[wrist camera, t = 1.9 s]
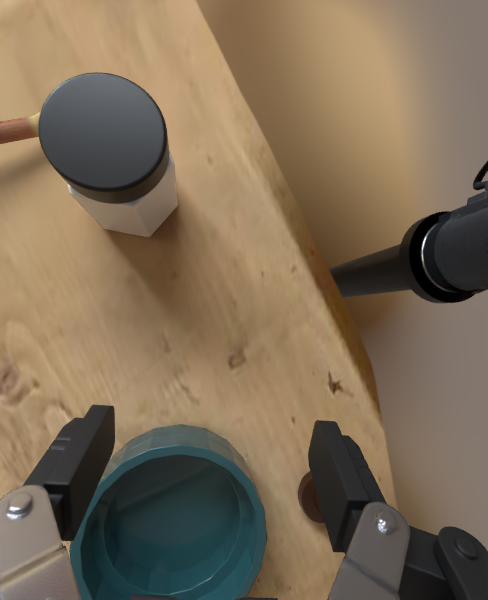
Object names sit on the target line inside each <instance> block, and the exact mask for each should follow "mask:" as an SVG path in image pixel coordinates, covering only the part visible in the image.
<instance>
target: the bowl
mask: <svg viewBox="0 0 488 600" xmlns="http://www.w3.org/2000/svg"><path fill="white" fill-rule="evenodd" d="M266 541H267V532H266V522H265V511H264V507H263V505H262V502H261V499H260V497H259V494H258V492H257V489H256V487H255V484H254V482H253V479H252V477H251V475H250V472H249V470H248V468H247V465H246V463H245V461H244V459H243V457H242V456H241V455H240V454H239V453H238V452H237V450H236V449H235V448H234V447H233V446H232V445H231V444H230V443H229V442H228V441H227V440H226V439H224V438H222V437H220V436H219V435H217V434H215V433H213V432H211V431H209V430H207V429H205V428H199V427H193V426H187V425H174V426H168V427H161V428H156V429H153V430H151V431H149V432H147V433H145V434H143V435H141V436H138V437H136V438H134V439H132V440H131V441H129V442H128V443H127V444H126V445H125V446H124V447H123V448H122V449H121V450H120V451H118V452H117V453H116V454H115V455H114V456H113V457H112V458H111V459H110V460H109V462H108V464H107V466H106V468H105V471H104V473H103V475H102V477H101V480H100V482H99V484H98V487H97V489H96V491H95V493H94V496H93V498H92V500H91V503H90V505H89V507H88V509H87V512H86V514H85V516H84V518H83V521H82V523H81V525H80V528H79V530H78V532H77V534H76V537H75V539H74V541H71V545H70V562H71V565H72V568H73V572H74V575H75V579H76V582H77V585H78V589H79V592H80V596H81V599H82V600H130V598H131V595H166V596H171V597H174V598H176V599H179V600H236V599H239V598H242V597H244V598H246V596H247V595H248V593H249V591H250V589H251V587H252V585H253V583H254V581H255V579H256V577H257V575H258V573H259V571H260V569H261V566H262V561H263V556H264V551H265V546H266Z"/></svg>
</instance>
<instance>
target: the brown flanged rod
mask: <svg viewBox="0 0 488 600" xmlns="http://www.w3.org/2000/svg"><path fill="white" fill-rule="evenodd" d="M298 499H299V502H300V505H301V507H302V508H303V510H304V512H305V513H306V515H307V516H308V517H309V518H310V519H311V520H313V521H315V522H317V523H325V521H324V517H323V514H322V510H321V506H320V503H319V499H318V496H317V492H316V489H315V485H314V481H313V478H312V474H311V471H309V472H308V473H307V474H306V475H305V476H304V477H303V479H302V481H301V483H300V485H299V490H298Z"/></svg>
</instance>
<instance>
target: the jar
mask: <svg viewBox="0 0 488 600" xmlns="http://www.w3.org/2000/svg"><path fill="white" fill-rule="evenodd" d="M38 133H39V140H40V143H41V147H42V149H43V152H44V154H45V156H46V158H47V159H48V161H49V162H50V164H51V165H52V166H53V167H54V169H55V170H56V171H57V172H58V173H59V174H60V175H61V176H62V178H63V179H64V180H65V181H66V184H67V187H68V189H69V192H70V194H71V196H72V197H73V198H74V199H75V200H76V201H77V202H78V203H79V204H80V205H81V206H82V207H83V208H84V209H85V210H86V211H87V212H88V213H89V214H90V215H91V216H92V217H93V218H94V219H95V220H96V221H97V223H98V224H99V225H100V226H101V227H102V228H103V229H107V230H113V231H118V232H123V233H129V234H134V235H139V236H144V237H150V236H151V235H152V234H153V233H154V232H155V231H156V229H157V228H158V227H159V226H160V225H161V224H162V223H163V222H164V220H165V219H166V218H167V217H168V216H169V215H170V214H171V213H172V211H173V210H174V209H175V208H176V207H177V206H178V199H177V187H176V176H175V165H174V161H173V159H172V156H171V154H170V151H169V145H168V137H167V128H166V124H165V120H164V117H163V115H162V113H161V111H160V109H159V107H158V105H157V104H156V102H155V101H154V100H153V98H152V97H151V96H150V95H149V94H148V93H147V92H146V91H145V90H144V89H142V88H141V87H140V86H138V85H137V84H135V83H134V82H132V81H130V80H128V79H126V78H123V77H120V76H117V75H113V74H108V73H87V74H82V75H78V76H75V77H72V78H70V79H68V80H66V81H65V82H63V83H61V84H60V85H59V86H58V87H56V88H55V89H54V90H53V91H52V92H51V94H50V95H49V96H48V98H47V99H46V101H45V103H44V104H43V107H42V109H41V112H40V116H39V122H38Z"/></svg>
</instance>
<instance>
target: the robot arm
mask: <svg viewBox="0 0 488 600" xmlns="http://www.w3.org/2000/svg"><path fill="white" fill-rule="evenodd" d="M487 172H488V161H487V162H486V163H485V165H484V166H483V167H482V169H481V170H480V171H479V173H478V174H477V176H476V177H475V179H474V182H473V189H475V190H481V189H484V188H485V189H486V191H485V192H482V193H480V194H477V195H475V196H473V197H470V198H468V202H467V205H466V206H463V207H461V208H458V209H456V210H453V211H451V212H448V213H446V214H443V215H441V216H438V217H436V218H435V223H434V225H433V226H431V227H430V228H429V229H428V230H427V231H426V232H425V234H424V235H423V237H422V239H421V242H420V246H419V254H418V255H419V263H420V267H421V270H422V272H423V274H424V276H425V277H426V279H427V280H428V281H429V282H430V283H431V284H432V285H433V286H434V287H435V288H437V289H439V290H441V291H444V292H448V293H459V292H466V291H473V290H478V291H475V292H473V293H471V294H476V293H480V292H482V291H485V290H487V289H488V181H483V182H482V179H483V178H484V176H485V174H486V173H487ZM114 443H115V414H114V407H113V406H106V405H92V406H91V408H90V409H89V411H88V412H87V414H86V416H85V417H84V418H74V419H73V420H72V421H70V422H69V423H68V424H66V425H65V426H64V427H63V428H62V430H61V431H60V432H59V434H58V435H57V437H56V439H55V440H54V441H53V443H52V444H51V445H50V447H49V450H47V451H46V453H45V454H44V456H43V457H42V459H41V460H40V461H39V463H38V464H37V466H36V467H35V469H34V470H33V472H32V473H31V475H30V476H29V477H28V479H27V480H26V482H25V483H24V485H23V486H22V487H19V488H16V489H14V490H12V491H10V492H9V493H7V494H6V495H4V496H3V497H2V498H1V499H0V600H82V599H81V596H80V592H79V589H78V585H77V582H76V579H75V575H74V572H73V568H72V565H71V562H70V558H69V555H68V552H67V549H66V547H65V546H63V544H62V541H74V539H75V537H76V534H77V532H78V530H79V528H80V525H81V523H82V521H83V518H84V516H85V514H86V512H87V509H88V507H89V505H90V503H91V500H92V498H93V496H94V493H95V491H96V489H97V487H98V484H99V482H100V480H101V477H102V475H103V473H104V471H105V468H106V466H107V464H108V462H109V459H110V457H111V455H112V452H113V448H114ZM308 460H309V467H310V471H311V474H312V478H313V481H314V485H315V489H316V492H317V496H318V499H319V503H320V506H321V510H322V514H323V517H324V521H325V524H326V528H327V531H328V535H329V539H330V542H331V546H332V549H333V552H344V553H345V556H344V558H343V561H342V563H341V565H340V568H339V571H338V573H337V576H336V578H335V581H334V583H333V586H332V588H331V591H330V593H329V596H328V599H327V600H488V551H487V550H486V548H485V547H484V546H483V545H482V544H481V543H480V542H479V541H478V540H477V539H476V538H474V537H473V536H472V535H470V534H469V533H467V532H466V531H464V530H461V529H459V528H456V527H444V528H442V529H441V530H440V532H439V535H438V536H437V535H434V534H430V533H428V532H425V531H422V530H419V529H417V528H414V527H412V526H409V525H408V523H407V521H406V520H405V518H404V517H403V516H402V515H401V514H400V513H399V512H398V511H397V510H396V509H395V508H393V507H392V506H390V505H388V504H387V503H386V501H385V499H384V497H383V495H382V493H381V491H380V489H379V487H378V485H377V483H376V481H375V479H374V477H373V475H372V473H371V470H370V469H369V468H368V464H367V462H366V460H365V459H364V456H363V454H362V452H361V450H360V448H359V446H358V445H357V444H356V443H355V442H354V441H353V440H352V439H351V438H350V437H349V436H345V435H342V434H341V432H340V430H339V427H338V425H337V423H336V422H334V421H320V420H317V421H316V422H315V425H314V429H313V434H312V438H311V443H310V447H309V454H308ZM130 600H179V599H176V598H174V597H171V596H166V595H131V598H130ZM236 600H278V598H244V597H242V598H239V599H236Z"/></svg>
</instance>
